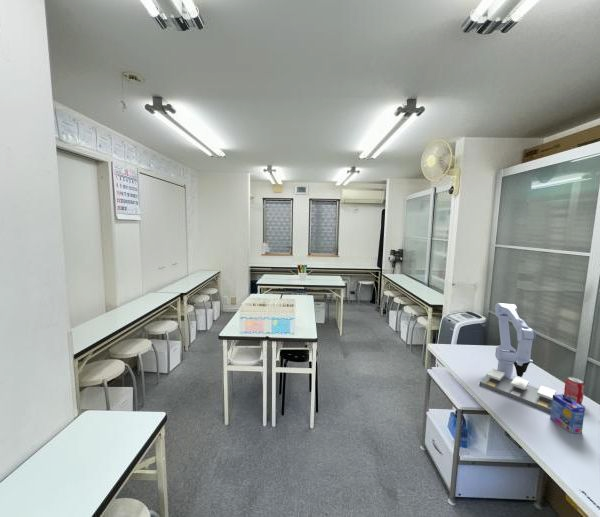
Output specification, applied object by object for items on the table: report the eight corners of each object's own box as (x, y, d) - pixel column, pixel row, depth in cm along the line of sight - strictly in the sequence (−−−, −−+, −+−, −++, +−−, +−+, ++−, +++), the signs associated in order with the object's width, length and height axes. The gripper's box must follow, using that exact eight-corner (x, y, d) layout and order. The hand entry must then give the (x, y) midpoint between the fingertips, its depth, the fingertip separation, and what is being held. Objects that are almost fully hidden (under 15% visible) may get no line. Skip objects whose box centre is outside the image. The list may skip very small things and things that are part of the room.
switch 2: (515, 378, 155) (515, 376, 155) (528, 383, 150) (529, 381, 150) (510, 384, 149) (511, 382, 148) (524, 389, 144) (524, 387, 144)
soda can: (576, 398, 145) (579, 377, 143) (585, 407, 138) (588, 384, 137) (560, 395, 147) (563, 374, 146) (567, 403, 140) (571, 381, 139)
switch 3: (540, 387, 147) (541, 385, 147) (555, 392, 142) (556, 390, 142) (536, 394, 140) (537, 392, 140) (552, 400, 136) (552, 398, 136)
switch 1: (492, 370, 163) (492, 368, 163) (504, 374, 159) (505, 372, 159) (487, 376, 157) (487, 374, 157) (499, 380, 152) (500, 378, 152)
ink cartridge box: (548, 418, 129) (552, 389, 128) (559, 417, 130) (563, 389, 128) (571, 433, 120) (575, 403, 118) (582, 433, 120) (587, 402, 118)
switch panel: (489, 374, 167) (490, 370, 167) (560, 400, 143) (561, 396, 143) (479, 384, 156) (480, 380, 156) (555, 415, 132) (555, 410, 131)
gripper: (530, 356, 140) (527, 381, 141) (536, 349, 149) (533, 372, 150) (513, 351, 145) (510, 375, 147) (520, 344, 154) (517, 367, 156)
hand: (521, 373), depth 149 cm, fingers open, 7 cm apart
